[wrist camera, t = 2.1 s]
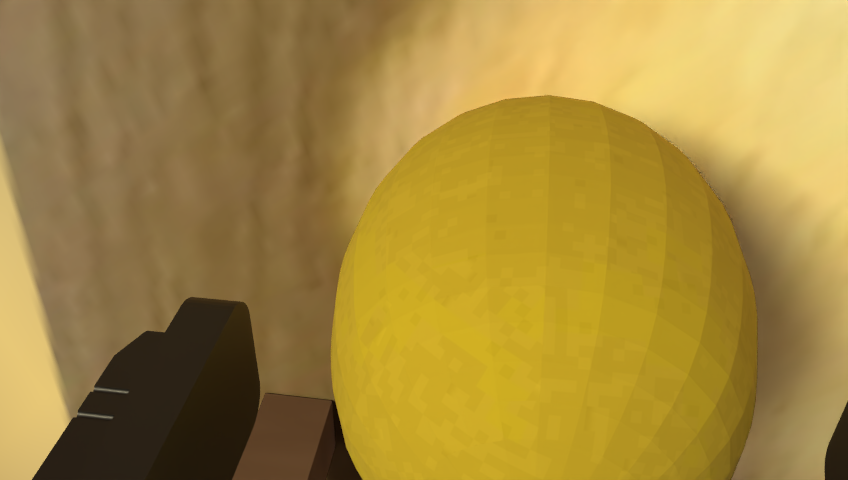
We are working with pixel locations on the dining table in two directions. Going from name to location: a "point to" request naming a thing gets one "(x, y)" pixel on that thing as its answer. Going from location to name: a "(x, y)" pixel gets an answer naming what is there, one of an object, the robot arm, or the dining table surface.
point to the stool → (289, 440)
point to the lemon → (544, 307)
